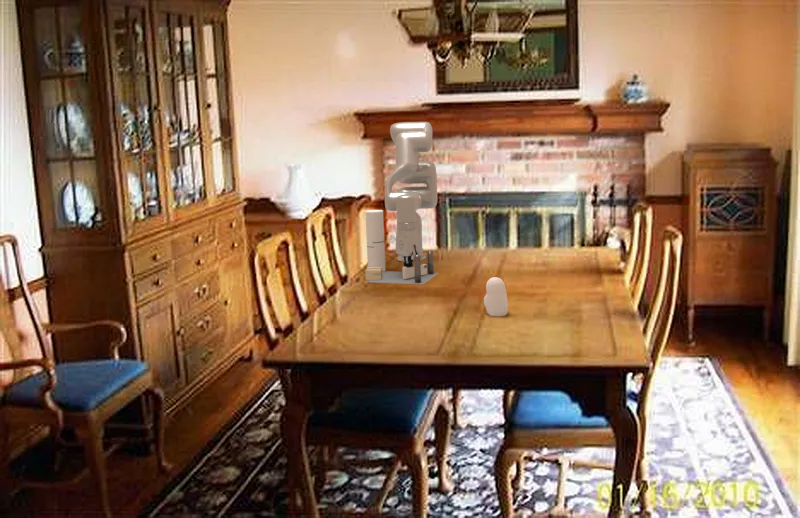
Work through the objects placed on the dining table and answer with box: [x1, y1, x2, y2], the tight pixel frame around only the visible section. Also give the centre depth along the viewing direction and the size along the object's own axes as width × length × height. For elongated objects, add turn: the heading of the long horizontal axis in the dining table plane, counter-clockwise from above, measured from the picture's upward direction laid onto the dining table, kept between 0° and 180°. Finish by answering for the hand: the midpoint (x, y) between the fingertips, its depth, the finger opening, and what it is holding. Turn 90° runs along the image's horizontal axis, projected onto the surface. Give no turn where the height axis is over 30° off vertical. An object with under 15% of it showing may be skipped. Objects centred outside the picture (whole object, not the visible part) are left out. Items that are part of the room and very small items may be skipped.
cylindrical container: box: [364, 209, 386, 272], centre depth 372 cm, size 7×7×25 cm
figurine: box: [483, 276, 509, 317], centre depth 299 cm, size 7×8×12 cm
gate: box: [401, 263, 428, 279], centre depth 358 cm, size 12×2×5 cm, turn 133°
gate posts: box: [413, 250, 435, 283], centre depth 355 cm, size 19×3×11 cm, turn 161°
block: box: [364, 266, 383, 281], centre depth 358 cm, size 6×6×4 cm
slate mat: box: [366, 270, 440, 285], centre depth 359 cm, size 21×23×1 cm
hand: (408, 272), depth 359 cm, fingers closed
